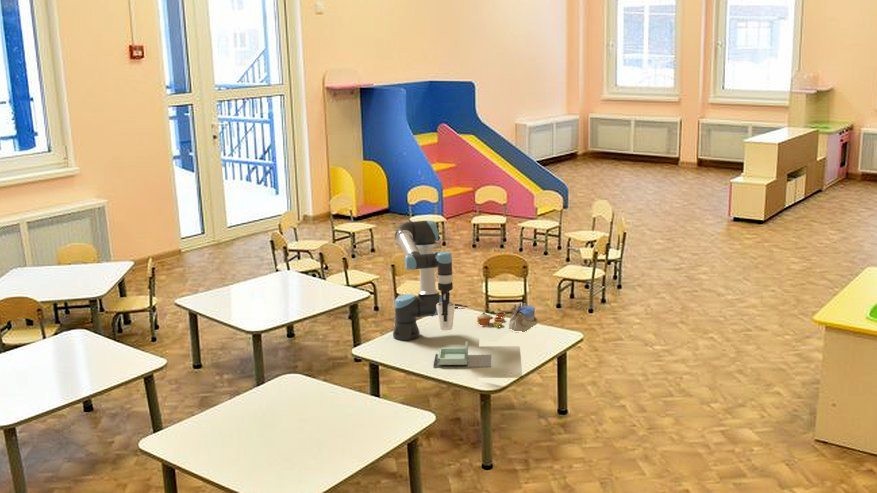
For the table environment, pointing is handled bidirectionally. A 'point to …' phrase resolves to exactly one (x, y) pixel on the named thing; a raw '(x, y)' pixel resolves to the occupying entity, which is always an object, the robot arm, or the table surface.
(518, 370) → the table surface
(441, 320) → the foam cup
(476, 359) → the rail
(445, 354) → the shallow mint tray
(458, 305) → the bird
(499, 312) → the toy tea set
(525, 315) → the grey and blue lump
